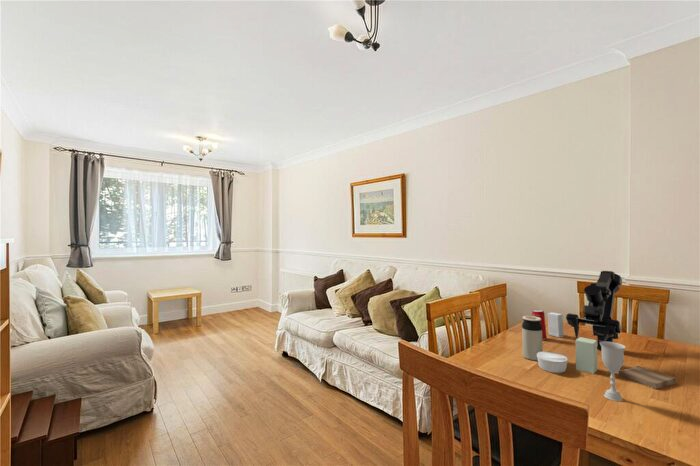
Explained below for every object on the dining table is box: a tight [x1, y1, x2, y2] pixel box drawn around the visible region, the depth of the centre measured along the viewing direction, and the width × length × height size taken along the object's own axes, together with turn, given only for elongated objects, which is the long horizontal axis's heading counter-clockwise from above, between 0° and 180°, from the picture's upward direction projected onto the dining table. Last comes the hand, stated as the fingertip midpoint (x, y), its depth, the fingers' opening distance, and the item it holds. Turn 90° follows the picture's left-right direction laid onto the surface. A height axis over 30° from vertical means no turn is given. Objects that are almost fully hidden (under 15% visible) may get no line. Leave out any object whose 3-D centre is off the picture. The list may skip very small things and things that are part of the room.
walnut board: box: [618, 365, 677, 390], centre depth 126 cm, size 12×12×2 cm
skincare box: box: [547, 312, 565, 338], centre depth 180 cm, size 6×4×12 cm
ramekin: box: [537, 351, 569, 374], centre depth 138 cm, size 11×11×5 cm
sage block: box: [574, 336, 598, 374], centre depth 136 cm, size 6×6×12 cm
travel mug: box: [521, 315, 544, 361], centre depth 150 cm, size 8×8×18 cm
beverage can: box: [531, 309, 548, 341], centre depth 176 cm, size 6×6×15 cm
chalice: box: [600, 341, 626, 402], centre depth 113 cm, size 7×7×18 cm
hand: (589, 339), depth 140 cm, fingers open, 9 cm apart
